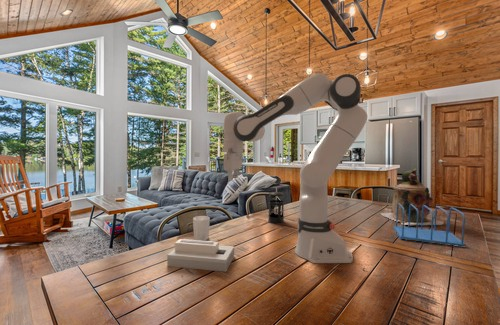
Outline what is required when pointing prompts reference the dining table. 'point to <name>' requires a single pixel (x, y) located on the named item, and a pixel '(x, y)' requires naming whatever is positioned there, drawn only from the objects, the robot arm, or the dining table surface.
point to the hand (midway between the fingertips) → (233, 179)
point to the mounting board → (202, 259)
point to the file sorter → (429, 234)
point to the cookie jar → (411, 201)
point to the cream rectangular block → (197, 246)
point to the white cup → (201, 227)
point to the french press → (276, 217)
